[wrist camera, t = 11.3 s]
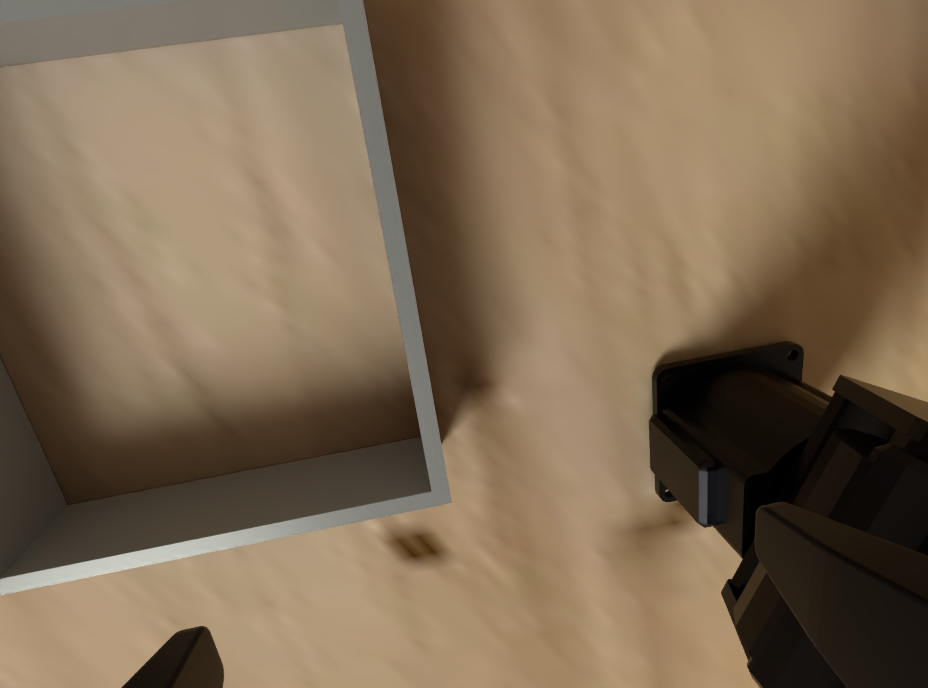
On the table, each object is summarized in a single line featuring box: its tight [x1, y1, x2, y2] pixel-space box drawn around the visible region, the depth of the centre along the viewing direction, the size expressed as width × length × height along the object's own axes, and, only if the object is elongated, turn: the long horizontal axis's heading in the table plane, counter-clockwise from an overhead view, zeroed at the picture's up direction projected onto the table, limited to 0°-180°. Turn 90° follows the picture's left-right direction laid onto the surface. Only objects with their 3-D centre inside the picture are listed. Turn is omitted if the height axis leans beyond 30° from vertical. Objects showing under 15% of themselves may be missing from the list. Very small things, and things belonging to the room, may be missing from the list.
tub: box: [0, 0, 452, 595], centre depth 17 cm, size 15×16×4 cm
